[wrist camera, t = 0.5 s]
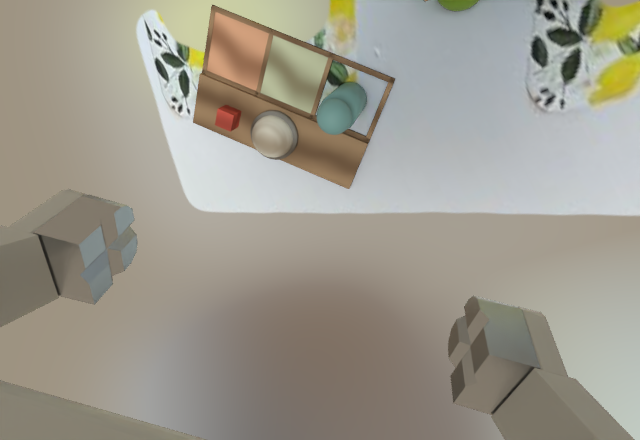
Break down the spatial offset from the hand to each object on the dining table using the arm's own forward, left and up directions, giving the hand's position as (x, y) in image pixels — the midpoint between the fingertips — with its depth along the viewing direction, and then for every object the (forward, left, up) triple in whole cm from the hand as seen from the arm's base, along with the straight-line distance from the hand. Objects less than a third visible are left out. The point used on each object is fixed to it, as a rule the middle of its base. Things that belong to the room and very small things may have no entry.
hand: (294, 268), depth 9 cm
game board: (+12, -14, -47) cm, 50 cm away
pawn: (+8, -5, -46) cm, 47 cm away
